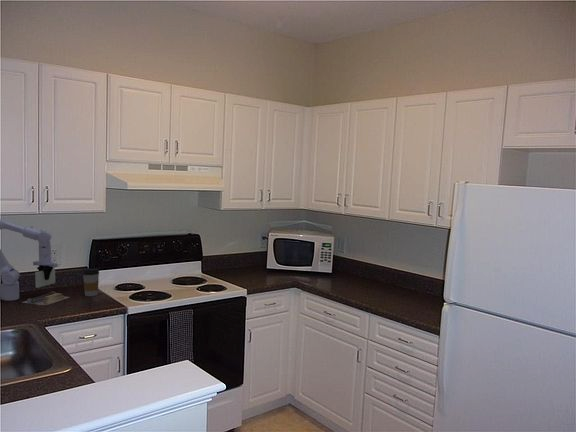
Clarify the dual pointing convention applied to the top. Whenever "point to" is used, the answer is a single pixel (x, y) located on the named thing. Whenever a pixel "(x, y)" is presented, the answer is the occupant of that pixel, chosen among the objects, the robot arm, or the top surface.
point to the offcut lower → (54, 300)
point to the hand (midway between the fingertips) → (45, 279)
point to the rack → (40, 299)
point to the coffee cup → (91, 281)
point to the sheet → (41, 280)
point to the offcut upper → (53, 296)
